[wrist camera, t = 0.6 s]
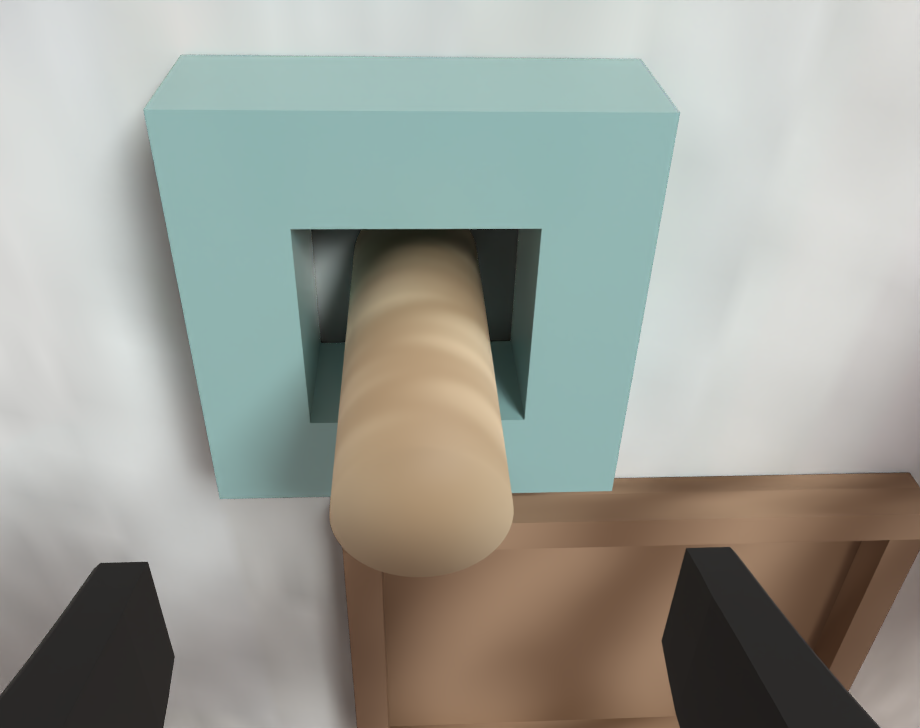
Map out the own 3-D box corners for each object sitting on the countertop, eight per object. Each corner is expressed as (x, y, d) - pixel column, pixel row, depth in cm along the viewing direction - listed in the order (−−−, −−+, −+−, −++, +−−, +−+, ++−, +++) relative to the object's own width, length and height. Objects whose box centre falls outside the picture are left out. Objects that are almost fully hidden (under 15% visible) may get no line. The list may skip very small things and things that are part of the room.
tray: (909, 472, 24) (938, 513, 23) (800, 711, 32) (817, 753, 30) (343, 483, 24) (340, 527, 22) (362, 727, 31) (360, 771, 29)
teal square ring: (641, 59, 17) (679, 112, 15) (589, 409, 22) (611, 491, 20) (180, 54, 17) (143, 109, 14) (239, 414, 22) (220, 498, 19)
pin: (479, 201, 19) (519, 446, 12) (475, 310, 20) (508, 575, 14) (350, 201, 19) (323, 449, 12) (357, 310, 20) (335, 579, 14)
